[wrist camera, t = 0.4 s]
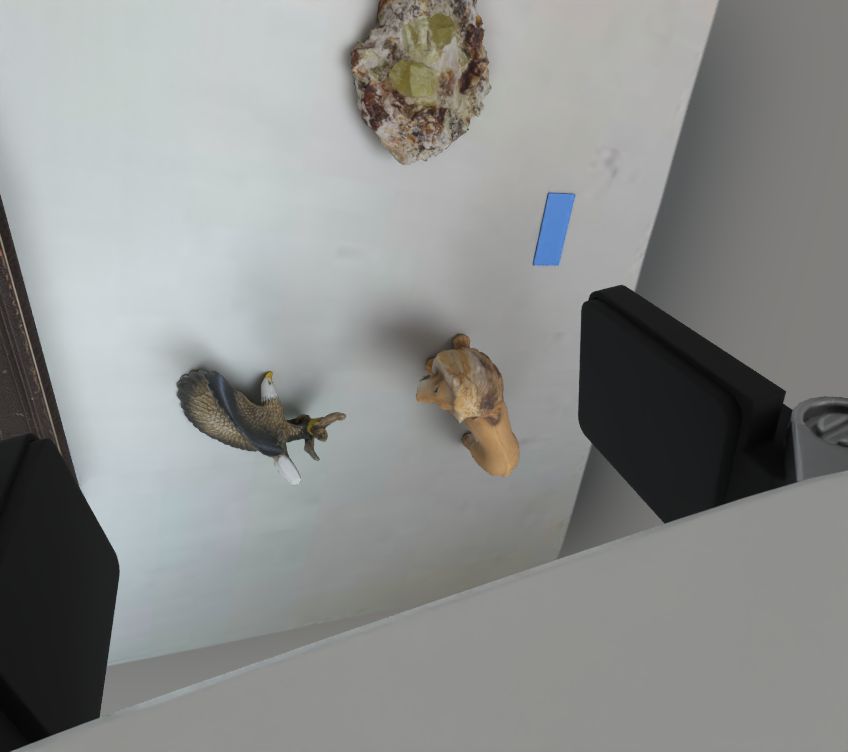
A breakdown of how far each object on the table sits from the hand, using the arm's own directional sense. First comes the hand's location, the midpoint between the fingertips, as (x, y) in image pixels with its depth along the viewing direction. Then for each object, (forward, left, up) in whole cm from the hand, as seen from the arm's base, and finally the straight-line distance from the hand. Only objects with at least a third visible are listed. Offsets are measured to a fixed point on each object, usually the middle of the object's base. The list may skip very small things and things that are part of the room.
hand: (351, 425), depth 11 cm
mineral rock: (-2, +10, -28) cm, 30 cm away
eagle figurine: (+16, -5, -28) cm, 33 cm away
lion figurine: (+20, +9, -28) cm, 36 cm away
